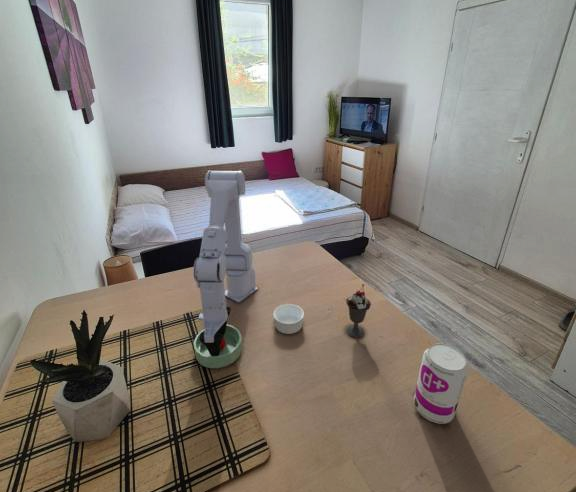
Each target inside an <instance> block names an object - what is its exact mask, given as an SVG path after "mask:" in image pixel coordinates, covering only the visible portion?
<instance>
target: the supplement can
mask: <svg viewBox="0 0 576 492" xmlns="http://www.w3.org/2000/svg"><path fill="white" fill-rule="evenodd" d="M468 370H469V367H468V364H467V360H466V357H465V355H464V354H463V353H462V352H461V351H460V350H459V349H457V348H456V347H455V346H452V345H450V344H446V343H440V342H439V343H438V342H437V343H433V344H431V345H430V346H429V347H428V348H427V349H426V350H424V352H423V355H422V359H421V364H420V368H419V372H418V377H417V382H416V387H415V391H414V396H413V405H414V406H415V409H416V410H417V412H418V413H419V414H420V415H421V416H422V417H423V418H424V419H426V420H428V421H430V422H433V423H435V424H438V425H439V424H441V425H442V424H443V425H446V424H448V423H450V422H451V421H452V420H454V418H455V415H456V411H457V409H458V405H459V402H460V398H461V394H462V392H463V388H464V385H465V381H466V378H467V376H468Z"/></svg>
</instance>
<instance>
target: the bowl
mask: <svg viewBox="0 0 576 492" xmlns="http://www.w3.org/2000/svg"><path fill="white" fill-rule="evenodd" d="M201 332H205V330H204V329H202V330H201V331H199V332H198V334H197V335H196V336H195V338H194V341H193V348H194V349H193V350H194V356H195V359H196V361H197V363H198V364H199V365H201V366H202V367H205V368H208V369H220V368H225V367H227V366H229V365H231V364H233V363H235V362H236V361H237V360H238V359H239V358H240V355H241V354H242V351H243V340H242V334H241V331H240V330H239V329H238V328H237V327H235V326H234V325H232V324H227V325H226V331H225V334H224V337H223V338H224V339H225V341H226V344H225V347H224V348H223V349H222V350H221V351H220V354H219V356H211V355H210V353H209V351H208V349H207V348H206V346H205V345H204V344H203V343H201V342H200V339H199V337H200V334H201Z"/></svg>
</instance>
